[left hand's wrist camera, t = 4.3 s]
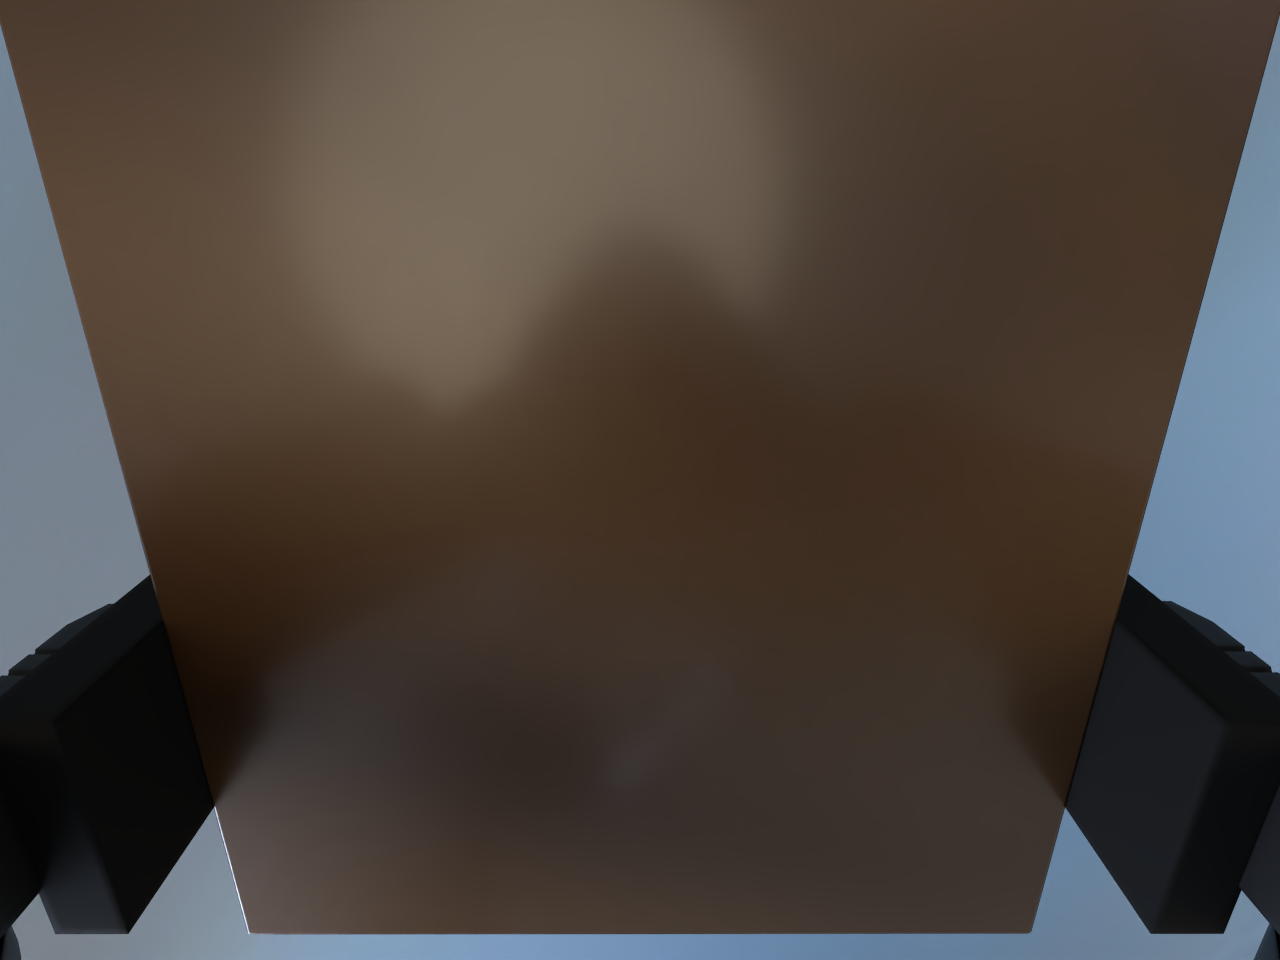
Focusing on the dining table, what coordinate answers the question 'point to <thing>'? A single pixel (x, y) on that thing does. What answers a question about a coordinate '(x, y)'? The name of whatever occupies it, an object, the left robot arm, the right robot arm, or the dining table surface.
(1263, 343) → the dining table surface
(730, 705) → the wooden drawer box
